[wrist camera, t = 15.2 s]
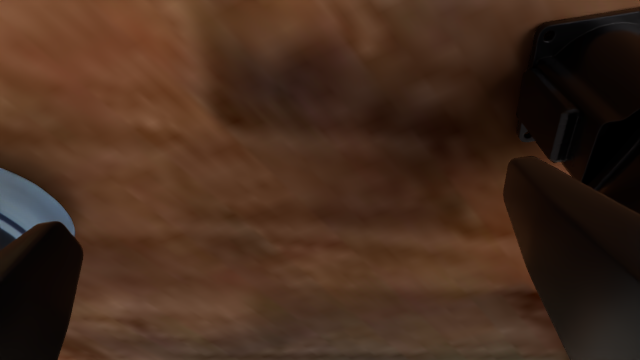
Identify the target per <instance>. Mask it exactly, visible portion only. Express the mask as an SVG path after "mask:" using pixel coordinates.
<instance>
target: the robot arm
mask: <svg viewBox="0 0 640 360" xmlns="http://www.w3.org/2000/svg"><path fill="white" fill-rule="evenodd" d="M548 31H551V34H550V35H549V36H548V37H546V38H544V35H545V34H546V33H547V32H548ZM516 115H517V117H518V118H519V121H518V126H517V136H518V137H519V139H520V140H521V141H523V142H531V141H536V143H537V144H538V145H539V147H540V148H541V150H542V151H543V152H544V154H545V155H546V156H547V158H548V159H549V160H551V161H552V162H553V163H557V162H561V163H562V164H563V166H564V167H565V168H566V170H567V171H568V172H569V174H570V175H571V176H572V177H571V176H569V175H568V174H566V173H564V172H562V171H560V170H558V169H557V168H555V167H553V166H551V165H549V164H548V163H546V162H544V161H542V160H540V159H538V158H536V157H534V156H528V157H521V158H514V159H512V160H510V162H509V164H508V168H507V173H506V179H505V185H504V191H503V196H504V202H505V205H506V208H507V211H508V214H509V217H510V220H511V223H512V226H513V229H514V232H515V235H516V238H517V241H518V244H519V247H520V250H521V253H522V256H523V259H524V262H525V264H526V267H527V270H528V272H529V274H530V277H531V279H532V281H533V283H534V286H535V288H536V290H537V292H538V294H539V296H540V298H541V300H542V302H543V304H544V306H545V308H546V311H547V313H548V315H549V317H550V319H551V321H552V323H553V325H554V327H555V329H556V331H557V333H558V336H559V338H560V340H561V342H562V344H563V346H564V348H565V350H566V352H567V354H568V356H569V359H570V360H640V7H639V8H633V9H626V10H620V11H614V12H608V13H601V14H595V15H589V16H583V17H576V18H570V19H564V20H558V21H551V22H546V23H543V24H542V25H541V26H539V27H538V29H537V30H536V32H535V34H534V40H533V45H532V50H531V56H530V61H529V67H528V69H527V70H526V71H525V72H524V74H523V80H522V85H521V91H520V96H519V102H518V108H517V113H516ZM527 131H528V132H529V133H528V134H525V133H526V132H527ZM82 261H83V249H82V247H81V245H80V244H79V242H78V241H77V240H76V239H75V237H74V236H73V235H72V234H71V233H70V231H69V230H68V229H67V228H66V226H65V225H64V224H63V223H61V222H59V221H51V222H44V223H39V224H36V225H35V226H33V227H32V228H30V229H29V230H28V231H26V232H25V233H24V234H22V235H21V236H19V237H18V238H17V239H15V240H14V241H13V242H11V243H10V244H8V245H7V246H6V247H4V248H3V249H2V250H0V360H58V357H59V353H60V350H61V347H62V344H63V341H64V338H65V335H66V332H67V328H68V325H69V321H70V317H71V312H72V308H73V303H74V298H75V294H76V289H77V284H78V280H79V275H80V270H81V265H82Z"/></svg>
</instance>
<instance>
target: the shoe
mask: <svg viewBox="0 0 640 360" xmlns="http://www.w3.org/2000/svg"><path fill="white" fill-rule="evenodd" d="M51 221H59V222H61V223H63V224H64V225H65V226H66V228H67V229H68V230H69V231H70V233H71V234H72V235H73V236H74V237H75V228H74V225H73V222H72V219H71V218H70V216H69V214H68V213H67V212H66V210H65V209H64V208H63V207H62V206H61V204H60V203H58V201H57V200H55V199H54V198H53V197H52V196H50V195H49V194H48V193H47V192H45V191H44V190H43V189H41V188H40V187H39V186H37V185H36V184H34V183H32V182H30V181H29V180H27V179H25V178H23V177H21V176H19V175H17V174H14V173H12V172H10V171H7V170H4V169H2V168H0V250H2V249H3V248H4V247H6V246H7V245H8V244H10V243H11V242H13V241H14V240H15V239H17V238H18V237H19V236H21V235H22V234H24V233H25V232H26V231H28V230H29V229H30V228H32V227H33V226H35V225H36V224H39V223H44V222H51Z"/></svg>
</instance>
